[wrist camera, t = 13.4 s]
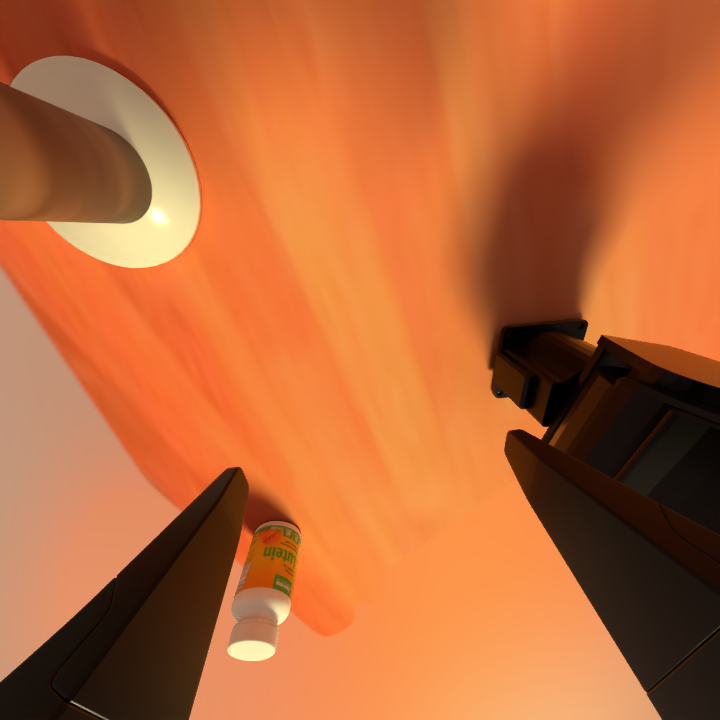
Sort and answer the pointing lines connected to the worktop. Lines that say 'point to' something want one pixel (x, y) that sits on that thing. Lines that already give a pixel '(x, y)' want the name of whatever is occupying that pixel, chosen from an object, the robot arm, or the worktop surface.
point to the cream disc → (151, 141)
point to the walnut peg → (66, 166)
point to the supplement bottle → (264, 591)
